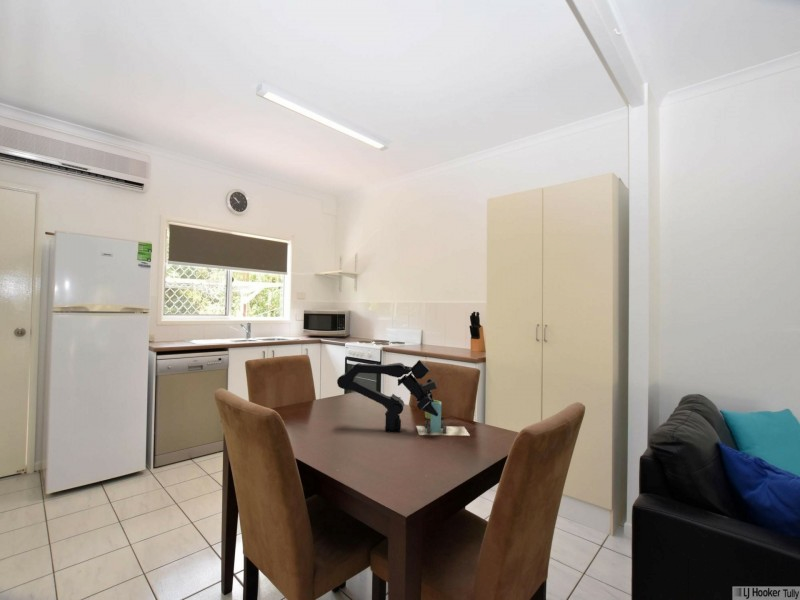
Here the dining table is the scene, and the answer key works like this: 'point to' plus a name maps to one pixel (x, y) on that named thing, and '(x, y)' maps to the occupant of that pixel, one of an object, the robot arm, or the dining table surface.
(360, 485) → the dining table surface
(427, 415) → the plant pot
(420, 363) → the robot arm
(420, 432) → the peg board
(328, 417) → the dining table surface
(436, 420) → the teal post
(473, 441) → the dining table surface
